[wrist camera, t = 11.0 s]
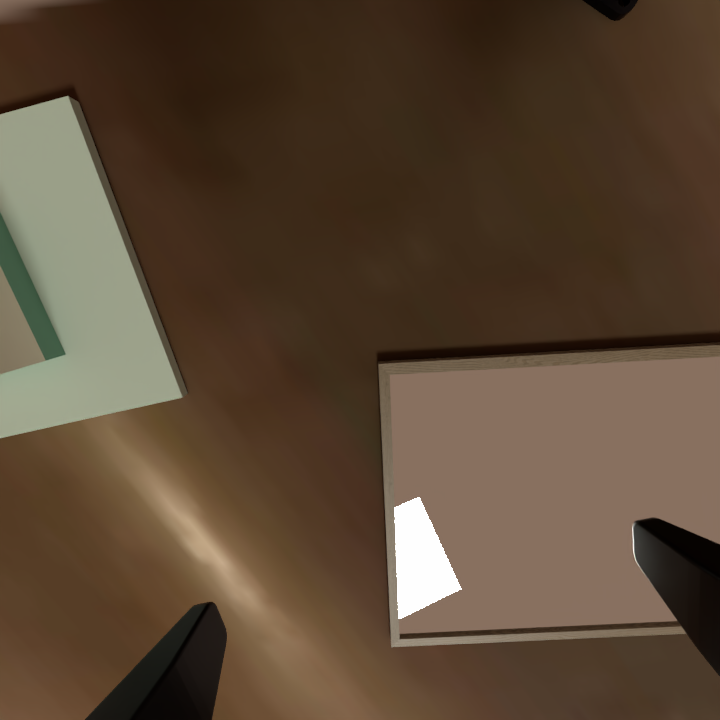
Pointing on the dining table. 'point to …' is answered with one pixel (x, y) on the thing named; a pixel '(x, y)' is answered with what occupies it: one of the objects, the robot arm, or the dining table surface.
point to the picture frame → (542, 488)
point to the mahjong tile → (21, 313)
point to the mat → (77, 278)
